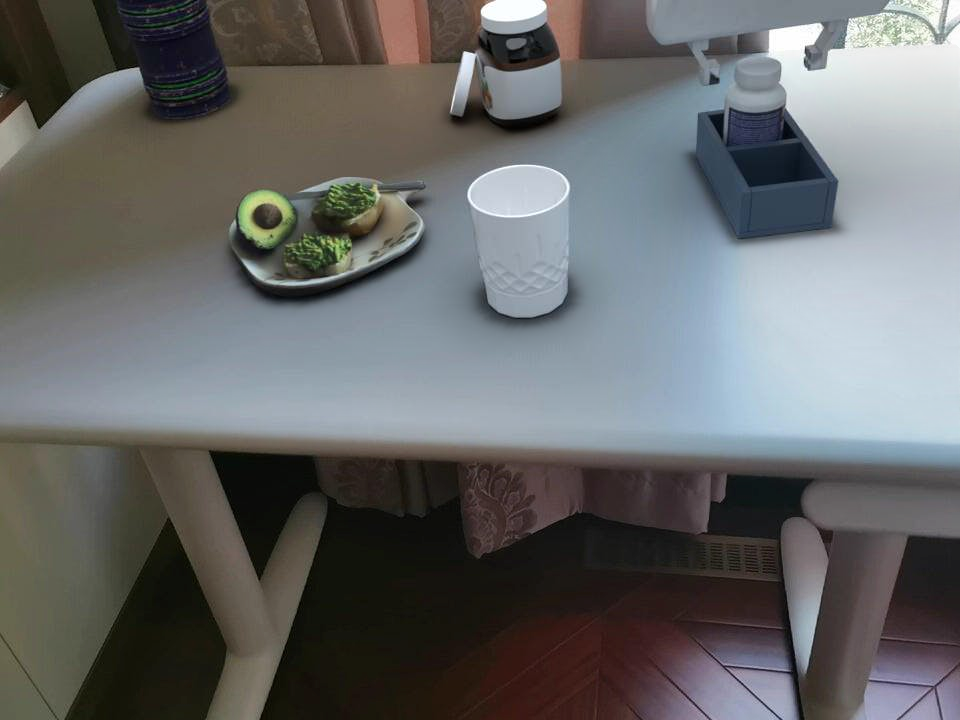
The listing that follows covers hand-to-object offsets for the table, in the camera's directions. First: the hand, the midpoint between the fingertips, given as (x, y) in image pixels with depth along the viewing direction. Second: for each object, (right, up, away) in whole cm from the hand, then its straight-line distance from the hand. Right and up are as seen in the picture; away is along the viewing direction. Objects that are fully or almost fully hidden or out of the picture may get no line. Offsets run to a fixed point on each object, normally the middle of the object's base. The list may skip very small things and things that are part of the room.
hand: (761, 75), depth 85 cm
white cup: (-21, -20, -5) cm, 30 cm away
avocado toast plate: (-40, -15, +4) cm, 43 cm away
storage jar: (-60, +6, +32) cm, 68 cm away
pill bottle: (+1, -7, +6) cm, 9 cm away
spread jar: (-23, +2, +21) cm, 31 cm away
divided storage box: (+1, -10, +3) cm, 10 cm away
